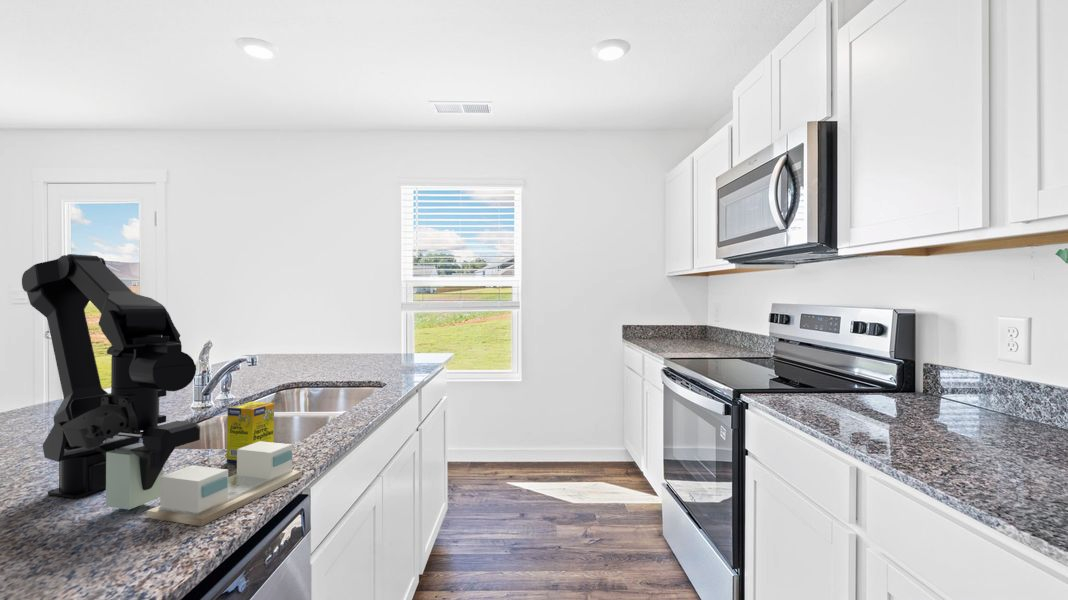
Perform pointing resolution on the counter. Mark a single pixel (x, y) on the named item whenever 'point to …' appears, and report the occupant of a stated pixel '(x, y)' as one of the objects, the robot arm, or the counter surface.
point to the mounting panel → (227, 506)
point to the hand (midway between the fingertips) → (135, 487)
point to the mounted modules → (222, 477)
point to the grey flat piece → (232, 491)
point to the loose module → (127, 479)
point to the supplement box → (248, 426)
